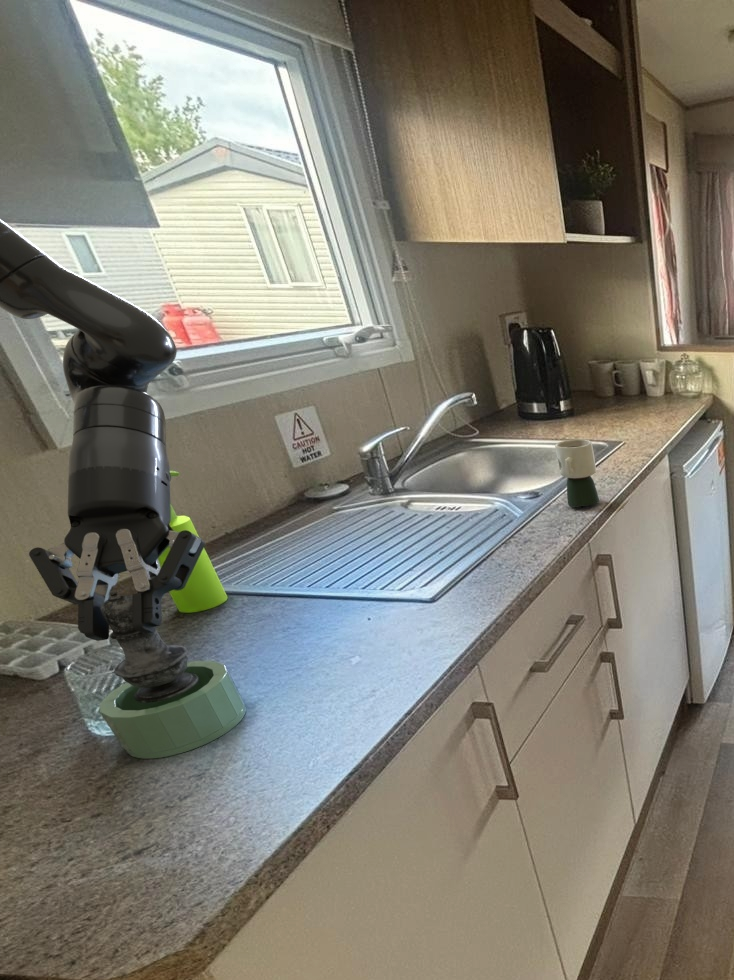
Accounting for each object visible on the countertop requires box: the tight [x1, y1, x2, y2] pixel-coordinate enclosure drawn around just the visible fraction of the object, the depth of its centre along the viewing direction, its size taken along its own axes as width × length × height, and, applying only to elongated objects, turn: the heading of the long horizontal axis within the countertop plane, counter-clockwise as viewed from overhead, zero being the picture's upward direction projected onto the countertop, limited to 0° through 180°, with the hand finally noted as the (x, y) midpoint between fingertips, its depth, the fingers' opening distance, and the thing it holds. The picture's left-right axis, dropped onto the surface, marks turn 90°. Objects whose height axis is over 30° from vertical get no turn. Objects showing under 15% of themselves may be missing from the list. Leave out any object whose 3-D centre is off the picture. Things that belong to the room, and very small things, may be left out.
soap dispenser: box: [158, 470, 228, 614], centre depth 95 cm, size 6×7×20 cm
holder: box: [99, 660, 247, 760], centre depth 72 cm, size 10×10×6 cm
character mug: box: [554, 438, 600, 509], centre depth 134 cm, size 11×7×13 cm, turn 0°
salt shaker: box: [101, 588, 198, 703], centre depth 68 cm, size 6×6×12 cm
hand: (121, 633), depth 65 cm, fingers closed on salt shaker, 3 cm apart
